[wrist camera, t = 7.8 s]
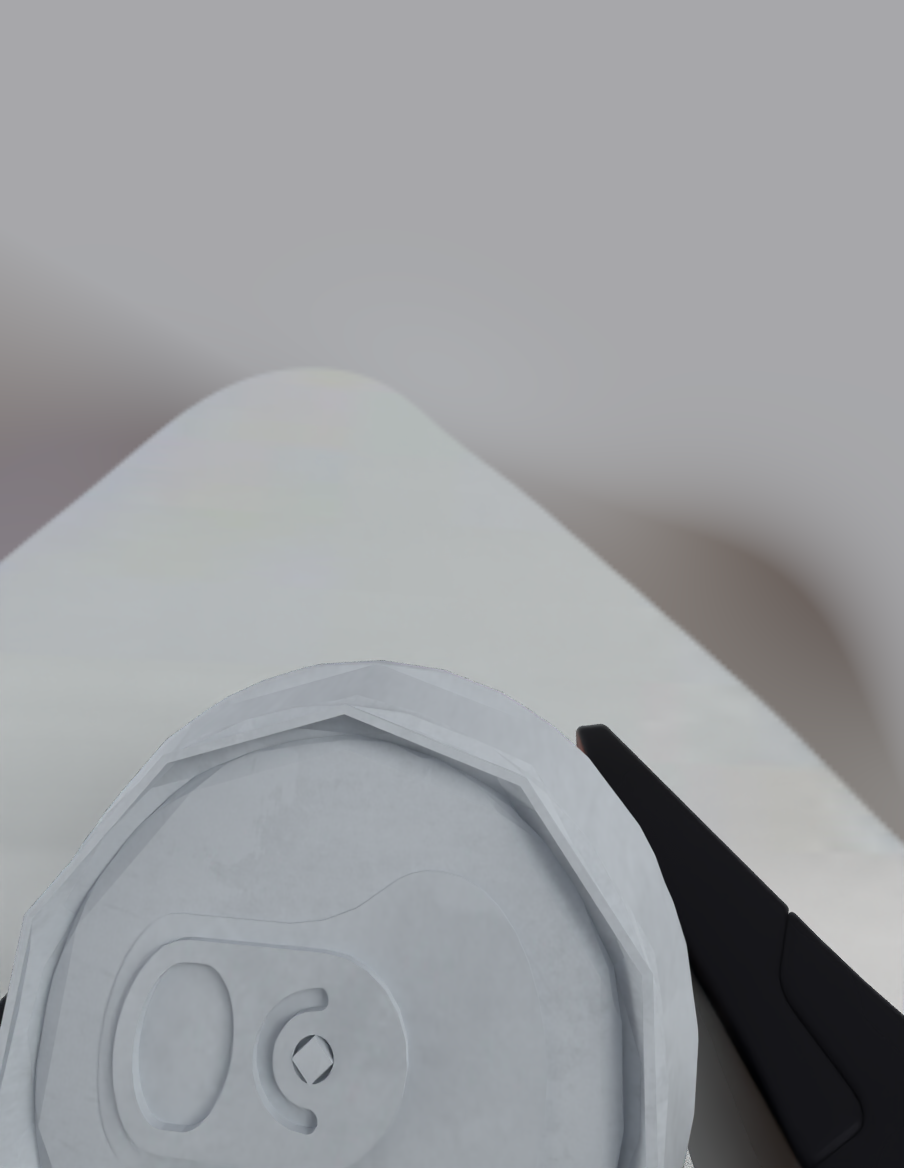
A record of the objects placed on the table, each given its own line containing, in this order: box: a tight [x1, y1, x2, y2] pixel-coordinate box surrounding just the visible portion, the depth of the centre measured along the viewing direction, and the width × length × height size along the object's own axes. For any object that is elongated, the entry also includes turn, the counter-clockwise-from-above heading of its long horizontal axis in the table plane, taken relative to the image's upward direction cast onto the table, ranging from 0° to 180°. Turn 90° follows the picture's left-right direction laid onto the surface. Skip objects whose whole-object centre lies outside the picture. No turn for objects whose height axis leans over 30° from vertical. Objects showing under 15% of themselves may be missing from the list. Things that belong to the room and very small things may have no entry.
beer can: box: [0, 660, 698, 1168], centre depth 9 cm, size 5×5×12 cm
